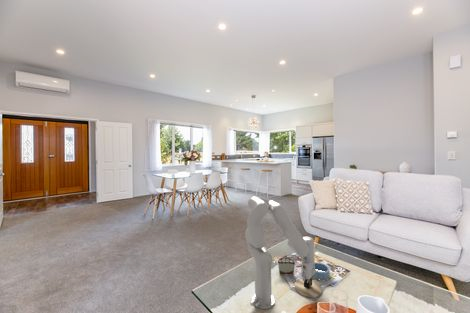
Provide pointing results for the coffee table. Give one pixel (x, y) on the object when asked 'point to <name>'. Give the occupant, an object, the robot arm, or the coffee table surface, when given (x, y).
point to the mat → (307, 297)
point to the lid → (311, 292)
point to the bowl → (321, 275)
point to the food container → (286, 265)
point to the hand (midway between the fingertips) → (308, 285)
